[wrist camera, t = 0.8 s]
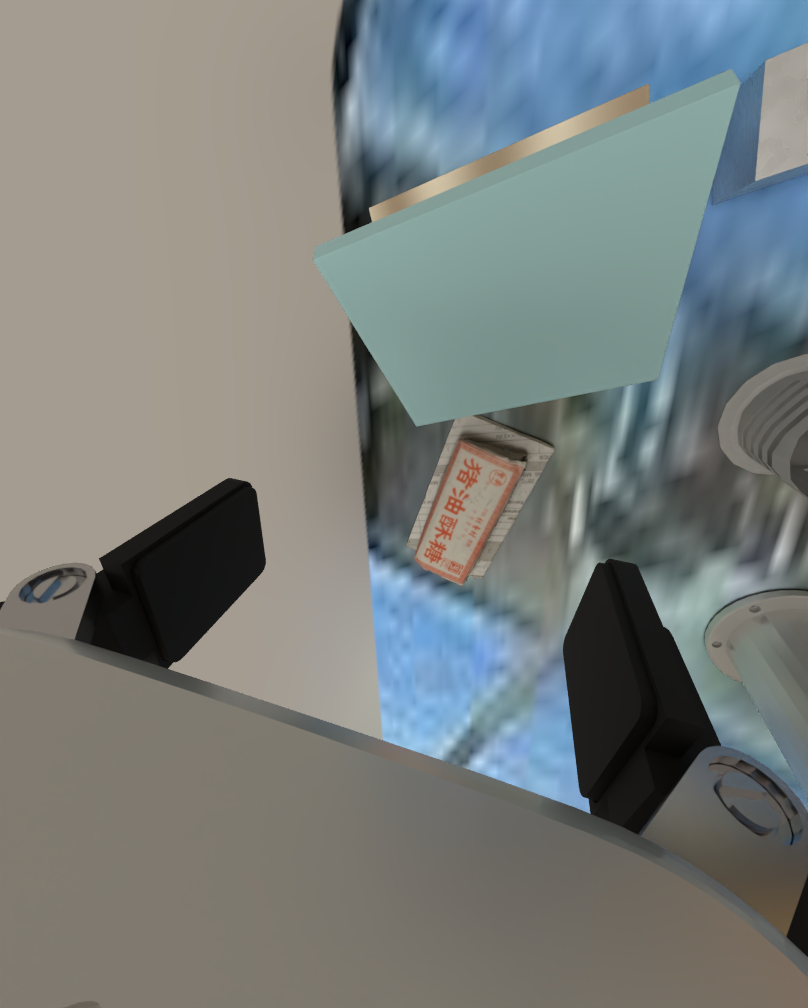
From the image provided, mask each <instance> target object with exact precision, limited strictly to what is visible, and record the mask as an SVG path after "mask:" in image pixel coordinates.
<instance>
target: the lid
mask: <svg viewBox="0 0 808 1008" xmlns="http://www.w3.org/2000/svg"><path fill="white" fill-rule="evenodd" d="M739 87H740V81H739V79H738V78H737V76H736V75H735V73H734V72H733V70H732V69H729V70H727V71H725V72H722V73H720V74H718V75H715V76H713V77H711V78H708V79H706V80H704V81H701V82H699V83H697V84H694V85H692V86H690V87H687V88H685V89H683V90H680V91H678V92H676V93H673V94H671V95H669V96H666V97H664V98H662V99H659V100H657V101H655V102H652V103H650V104H648V105H645V106H643V107H641V108H638V109H636V110H634V111H631V112H629V113H627V114H624V115H622V116H620V117H617V118H615V119H613V120H610V121H608V122H606V123H603V124H601V125H599V126H596V127H594V128H592V129H589V130H587V131H585V132H582V133H580V134H578V135H575V136H573V137H571V138H568V139H566V140H564V141H561V142H559V143H557V144H554V145H552V146H550V147H547V148H545V149H543V150H540V151H538V152H536V153H533V154H531V155H529V156H526V157H524V158H522V159H519V160H517V161H515V162H512V163H510V164H508V165H505V166H503V167H500V168H498V169H496V170H493V171H491V172H489V173H486V174H484V175H482V176H479V177H477V178H475V179H472V180H470V181H468V182H465V183H463V184H461V185H458V186H456V187H454V188H451V189H449V190H447V191H444V192H442V193H440V194H437V195H435V196H433V197H430V198H428V199H426V200H423V201H421V202H419V203H416V204H414V205H412V206H409V207H407V208H405V209H402V210H400V211H398V212H395V213H393V214H391V215H388V216H386V217H384V218H381V219H379V220H377V221H374V222H372V223H370V224H367V225H365V226H363V227H360V228H358V229H356V230H353V231H351V232H349V233H346V234H344V235H342V236H339V237H337V238H335V239H332V240H330V241H328V242H326V243H323V244H321V245H318V246H316V247H315V252H314V256H313V261H314V263H315V265H316V266H317V268H318V270H319V271H320V273H321V274H322V276H323V278H324V279H325V281H326V282H327V284H328V286H329V287H330V289H331V290H332V292H333V294H334V295H335V297H336V298H337V300H338V301H339V303H340V305H341V306H342V308H343V310H344V311H345V313H346V314H347V316H348V318H349V319H350V321H351V322H352V324H353V326H354V327H355V329H356V330H357V332H358V334H359V335H360V337H361V338H362V340H363V342H364V343H365V345H366V346H367V348H368V350H369V351H370V353H371V354H372V356H373V358H374V359H375V361H376V362H377V364H378V366H379V367H380V369H381V370H382V372H383V374H384V375H385V377H386V378H387V380H388V382H389V383H390V385H391V386H392V388H393V390H394V391H395V393H396V394H397V396H398V398H399V399H400V401H401V402H402V404H403V406H404V407H405V409H406V410H407V412H408V414H409V415H410V417H411V418H412V420H413V422H414V423H415V425H416V426H421V425H426V424H432V423H437V422H442V421H447V420H452V419H457V418H463V417H468V416H473V415H478V414H483V413H488V412H494V411H499V410H504V409H509V408H514V407H519V406H524V405H530V404H535V403H540V402H545V401H550V400H555V399H561V398H566V397H571V396H576V395H581V394H586V393H592V392H597V391H602V390H607V389H612V388H617V387H622V386H628V385H633V384H638V383H643V382H648V381H653V380H658V376H659V373H660V369H661V366H662V362H663V358H664V355H665V351H666V348H667V344H668V341H669V337H670V333H671V330H672V326H673V323H674V319H675V316H676V312H677V308H678V305H679V301H680V298H681V294H682V291H683V287H684V283H685V280H686V276H687V273H688V269H689V266H690V262H691V258H692V255H693V251H694V248H695V244H696V241H697V237H698V233H699V230H700V226H701V223H702V219H703V215H704V212H705V208H706V205H707V201H708V198H709V194H710V190H711V187H712V183H713V180H714V176H715V173H716V169H717V165H718V162H719V158H720V155H721V151H722V148H723V144H724V140H725V137H726V133H727V130H728V126H729V123H730V119H731V115H732V112H733V108H734V105H735V101H736V98H737V94H738V90H739Z"/></svg>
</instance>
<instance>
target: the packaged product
mask: <svg viewBox="0 0 808 1008" xmlns="http://www.w3.org/2000/svg"><path fill="white" fill-rule="evenodd" d="M554 450H555V449H554V448H553V447H552V446H551V445H549V444H547V443H545V442H543V441H541V440H538V439H535V438H533V437H530V436H528V435H525V434H523V433H520V432H517V431H515V430H513V429H511V428H508V427H506V426H504V425H501V424H499V423H497V422H494V421H492V420H490V419H487V418H485V417H483V416H480V415H473V416H468V417H463V418H457V419H455V421H454V423H453V426H452V428H451V431H450V433H449V436H448V438H447V441H446V443H445V446H444V448H443V451H442V453H441V456H440V459H439V461H438V464H437V467H436V469H435V472H434V475H433V478H432V480H431V482H430V485H429V487H428V490H427V493H426V497H425V499H424V501H423V504H422V506H421V509H420V510H419V513H418V516H417V519H416V521H415V524H414V527H413V529H412V532H411V535H410V537H409V540H408V542H407V544H406V546H407V547H410V548H412V549H414V550H416V553H415V556H414V557H415V561H416V562H417V563H418V564H420V565H421V566H422V567H423V569H425V570H430V571H431V572H433V573H435V574H438V575H440V576H442V577H443V578H445V579H447V580H449V581H452V582H455V583H457V584H459V585H460V586H463V584H464V583H465V582H466V581H467V578H468V576H469V575H470V576H472V577H474V578H483V576H484V574H485V572H486V571H487V569H488V567H489V565H490V563H491V562H492V560H493V558H494V556H495V554H496V553H497V551H498V549H499V547H500V545H501V544H502V542H503V540H504V538H505V537H506V535H507V533H508V532H509V530H510V528H511V526H512V525H513V523H514V521H515V519H516V517H517V515H518V514H519V512H520V510H521V508H522V506H523V505H524V503H525V501H526V499H527V497H528V496H529V494H530V492H531V491H532V489H533V487H534V485H535V484H536V482H537V480H538V478H539V477H540V475H541V473H542V471H543V469H544V468H545V466H546V464H547V462H548V460H549V458H550V457H551V455H552V454H553V452H554Z"/></svg>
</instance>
